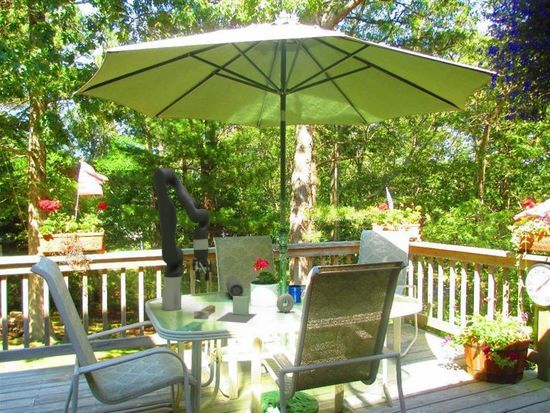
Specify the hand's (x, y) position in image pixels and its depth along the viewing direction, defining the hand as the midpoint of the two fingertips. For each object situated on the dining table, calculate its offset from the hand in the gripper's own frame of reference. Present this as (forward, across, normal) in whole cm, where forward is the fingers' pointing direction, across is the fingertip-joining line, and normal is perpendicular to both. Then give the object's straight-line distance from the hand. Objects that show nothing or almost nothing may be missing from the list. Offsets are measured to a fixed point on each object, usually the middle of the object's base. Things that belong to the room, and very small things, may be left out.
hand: (202, 279), depth 238 cm
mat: (+18, +18, +7) cm, 27 cm away
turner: (+18, +4, -1) cm, 18 cm away
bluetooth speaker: (+19, -28, +39) cm, 51 cm away
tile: (+18, +15, +12) cm, 26 cm away
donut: (+20, +24, +34) cm, 46 cm away
